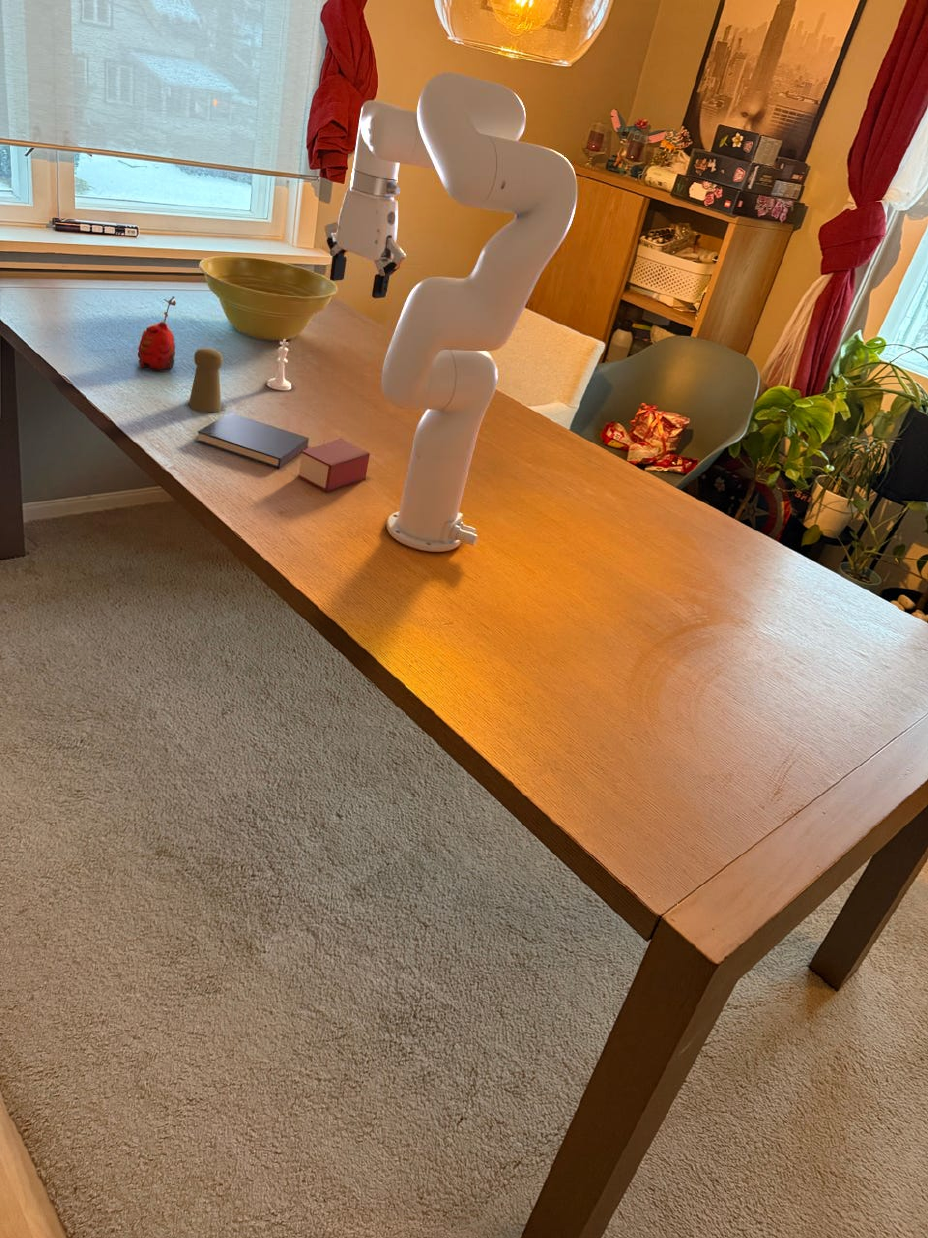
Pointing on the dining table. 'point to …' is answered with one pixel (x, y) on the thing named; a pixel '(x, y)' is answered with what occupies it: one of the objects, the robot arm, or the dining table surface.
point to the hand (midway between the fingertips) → (357, 288)
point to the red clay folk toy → (157, 346)
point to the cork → (206, 381)
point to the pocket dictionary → (333, 465)
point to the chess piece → (280, 371)
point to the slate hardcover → (253, 440)
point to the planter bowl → (266, 294)
